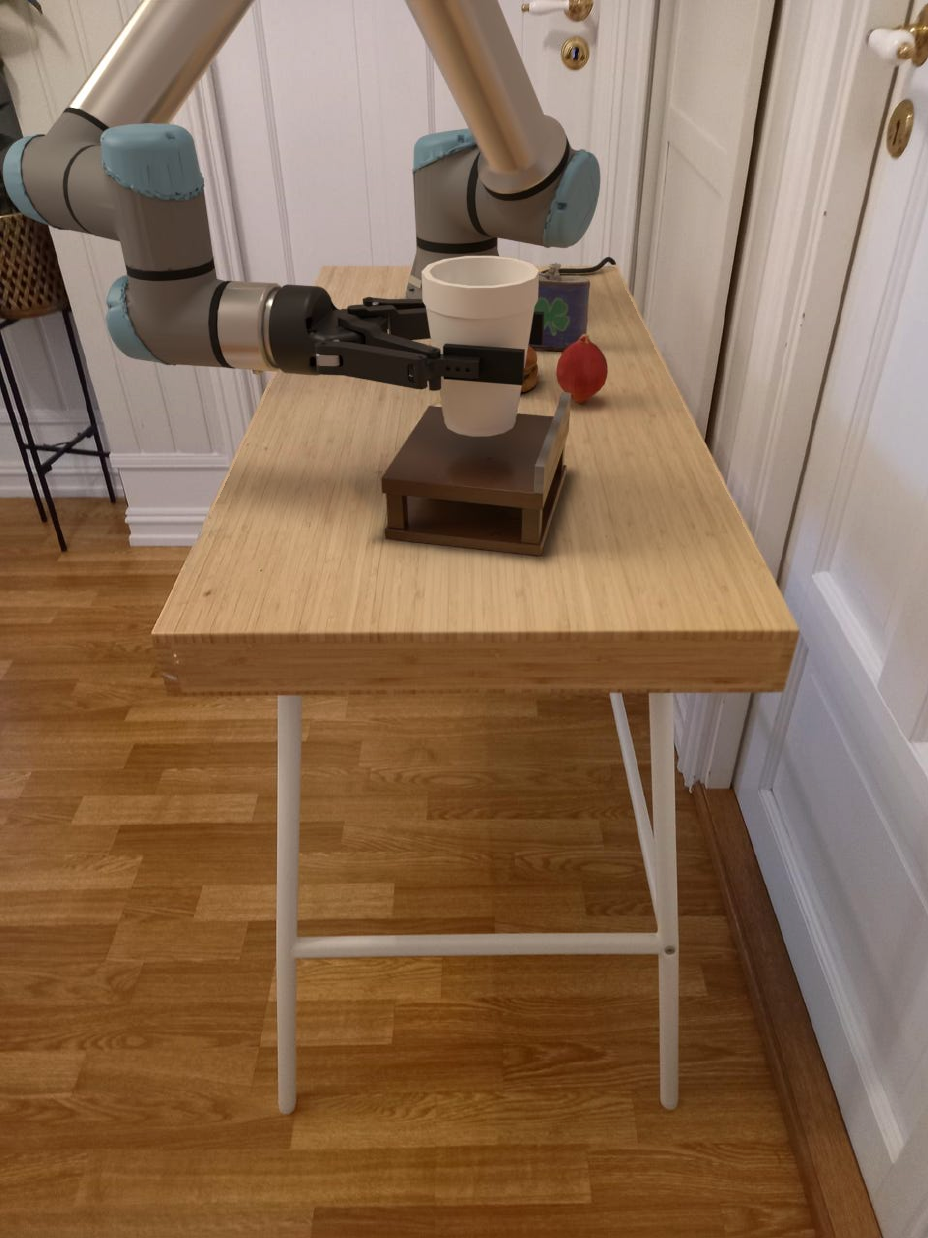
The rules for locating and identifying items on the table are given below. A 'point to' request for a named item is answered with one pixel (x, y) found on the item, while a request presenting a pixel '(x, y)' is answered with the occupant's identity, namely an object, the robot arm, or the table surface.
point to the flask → (562, 309)
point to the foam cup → (480, 331)
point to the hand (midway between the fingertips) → (533, 346)
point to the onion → (582, 369)
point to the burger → (530, 370)
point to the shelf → (478, 483)
